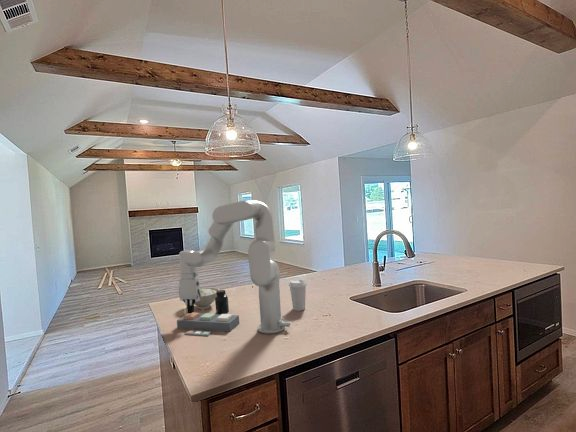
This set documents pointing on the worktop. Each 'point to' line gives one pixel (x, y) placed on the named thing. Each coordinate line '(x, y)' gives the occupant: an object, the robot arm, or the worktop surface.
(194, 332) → the card
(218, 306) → the supplement bottle
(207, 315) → the sage key
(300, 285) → the coffee cup
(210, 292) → the bowl
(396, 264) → the worktop surface
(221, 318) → the cream key
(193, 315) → the terracotta key
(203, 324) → the keypad
